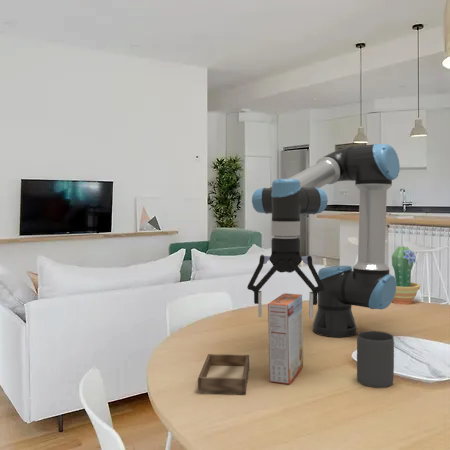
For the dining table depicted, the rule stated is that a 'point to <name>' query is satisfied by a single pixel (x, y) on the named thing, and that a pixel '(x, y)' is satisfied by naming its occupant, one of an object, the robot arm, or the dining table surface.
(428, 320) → the dining table surface
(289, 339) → the cracker box
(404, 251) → the potted cactus
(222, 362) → the tray
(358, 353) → the mug
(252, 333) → the dining table surface
